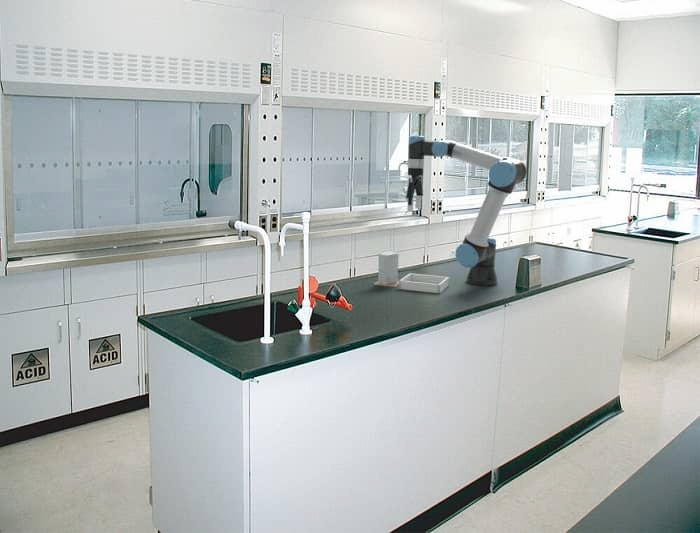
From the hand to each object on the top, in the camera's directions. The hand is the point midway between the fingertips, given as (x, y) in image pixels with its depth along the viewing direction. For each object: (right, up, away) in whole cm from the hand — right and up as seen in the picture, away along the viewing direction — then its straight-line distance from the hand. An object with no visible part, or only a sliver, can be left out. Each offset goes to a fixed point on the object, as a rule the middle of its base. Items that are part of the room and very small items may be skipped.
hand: (414, 210), depth 348 cm
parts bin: (+4, -38, -12) cm, 40 cm away
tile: (-13, -37, -7) cm, 40 cm away
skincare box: (-14, -37, -8) cm, 40 cm away
